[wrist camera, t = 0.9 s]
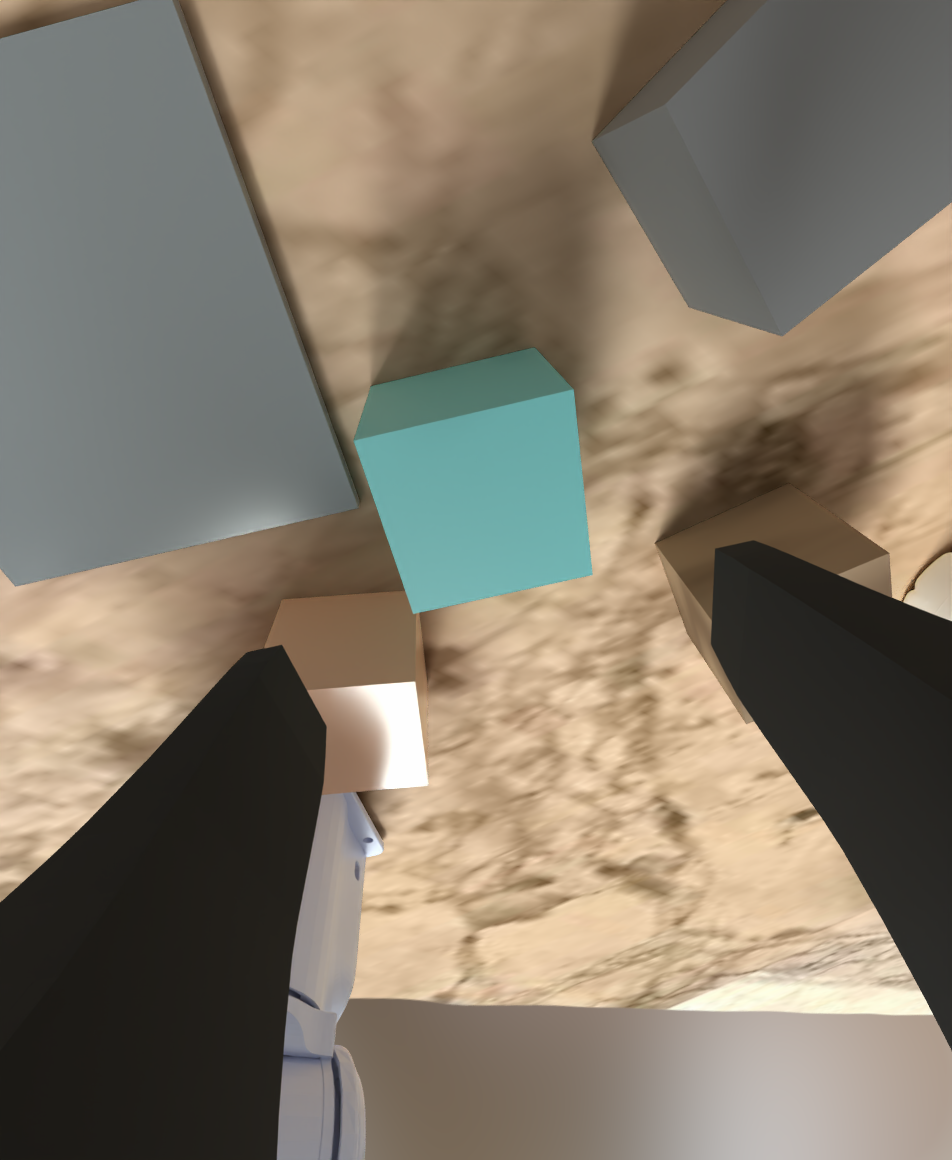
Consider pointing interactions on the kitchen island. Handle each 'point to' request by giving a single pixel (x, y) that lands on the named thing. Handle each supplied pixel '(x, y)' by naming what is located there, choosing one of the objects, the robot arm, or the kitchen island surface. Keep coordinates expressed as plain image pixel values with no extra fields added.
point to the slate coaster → (140, 312)
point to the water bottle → (934, 588)
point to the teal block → (477, 478)
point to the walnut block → (776, 523)
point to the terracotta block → (362, 685)
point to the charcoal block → (789, 150)
